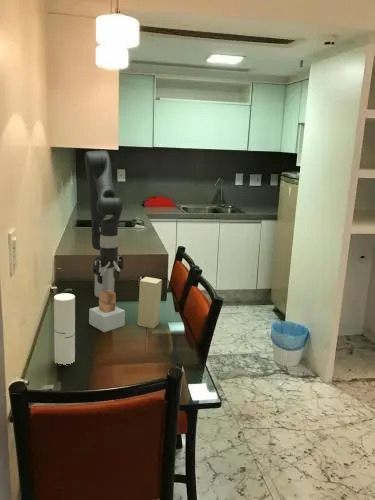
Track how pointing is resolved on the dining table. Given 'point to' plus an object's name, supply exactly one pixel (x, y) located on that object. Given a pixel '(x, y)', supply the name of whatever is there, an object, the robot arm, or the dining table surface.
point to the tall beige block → (149, 302)
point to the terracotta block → (107, 301)
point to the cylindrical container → (64, 328)
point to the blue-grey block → (106, 319)
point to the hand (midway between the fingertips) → (108, 281)
